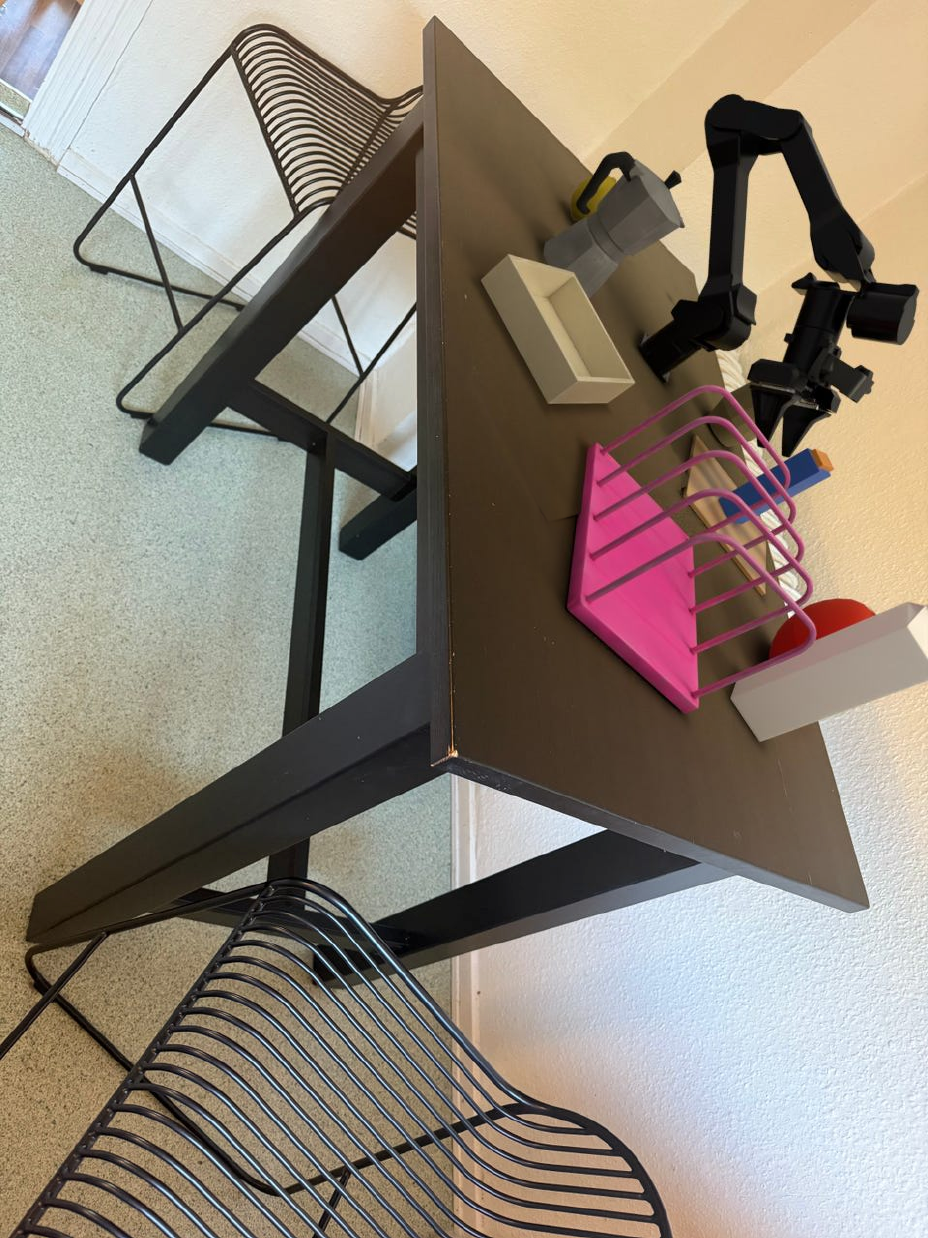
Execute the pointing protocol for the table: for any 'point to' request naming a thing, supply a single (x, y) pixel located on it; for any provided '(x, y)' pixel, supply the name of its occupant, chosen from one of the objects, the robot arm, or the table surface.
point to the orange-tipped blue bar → (803, 475)
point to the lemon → (594, 201)
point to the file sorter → (669, 562)
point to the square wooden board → (711, 511)
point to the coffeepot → (615, 221)
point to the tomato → (819, 623)
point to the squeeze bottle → (734, 416)
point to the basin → (557, 332)
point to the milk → (838, 672)
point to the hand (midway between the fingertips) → (773, 452)
